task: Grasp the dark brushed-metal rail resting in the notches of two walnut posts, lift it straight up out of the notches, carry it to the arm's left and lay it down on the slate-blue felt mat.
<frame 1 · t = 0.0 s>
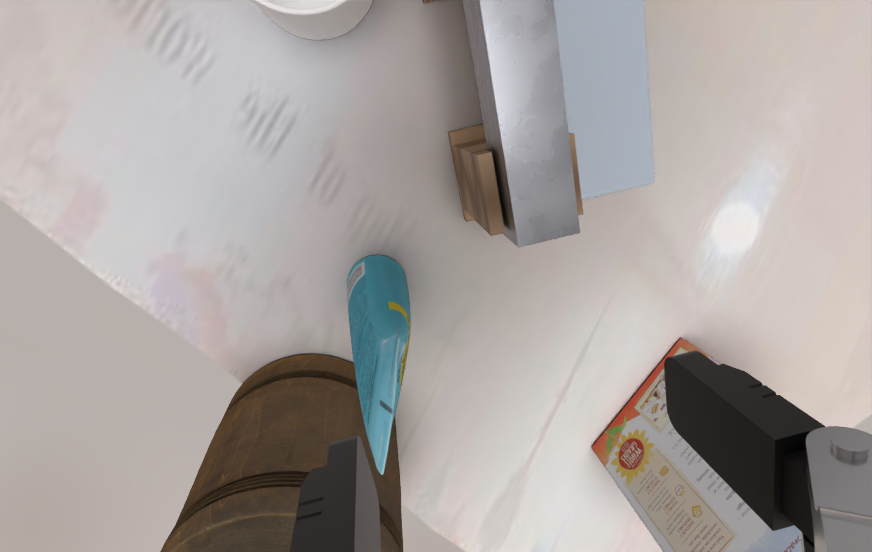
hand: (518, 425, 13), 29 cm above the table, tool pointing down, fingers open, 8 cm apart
tube: (378, 280, 42), on the table
wooden container: (312, 426, 46), on the table
rail: (502, 48, 30), point 8 cm above the table, touching post a, post b
mat: (591, 51, 39), on the table
cracker box: (653, 404, 50), on the table
post b: (492, 168, 40), on the table
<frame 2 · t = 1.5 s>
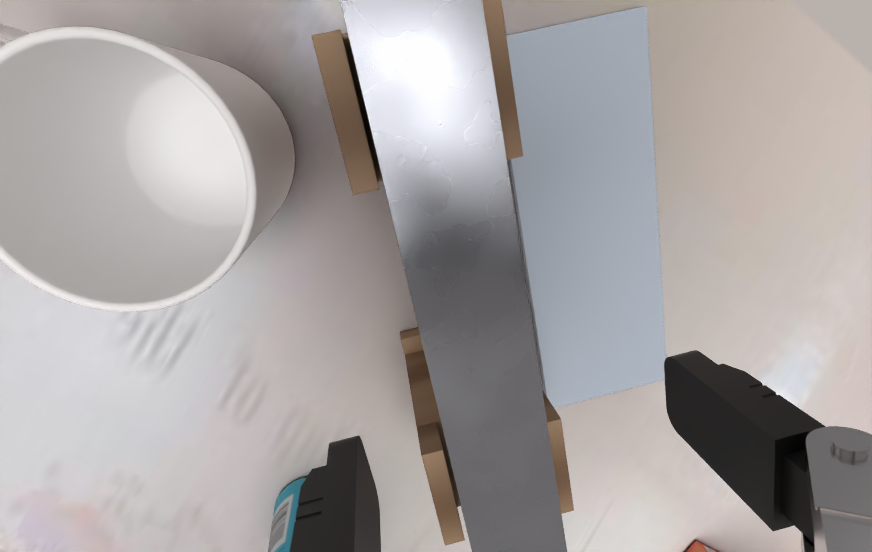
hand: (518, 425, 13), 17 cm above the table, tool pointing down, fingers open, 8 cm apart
mug: (181, 128, 25), on the table
tube: (316, 501, 33), on the table
post a: (402, 102, 26), on the table
rail: (458, 299, 21), point 8 cm above the table, touching post a, post b
mat: (587, 229, 29), on the table
post b: (459, 370, 31), on the table
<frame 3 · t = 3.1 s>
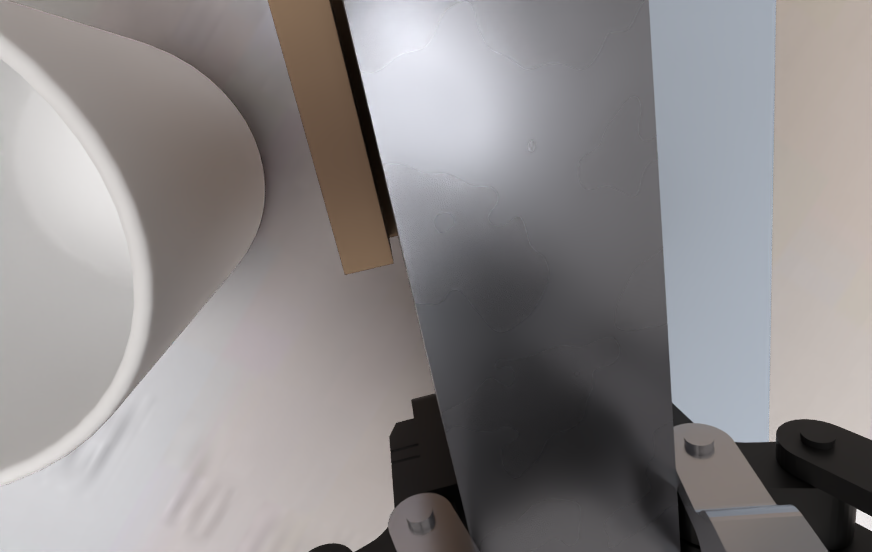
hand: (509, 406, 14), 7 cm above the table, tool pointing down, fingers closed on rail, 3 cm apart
mug: (99, 142, 17), on the table
post a: (420, 104, 18), on the table
rail: (518, 422, 13), point 8 cm above the table, touching gripper, post a, post b
mat: (672, 279, 21), on the table
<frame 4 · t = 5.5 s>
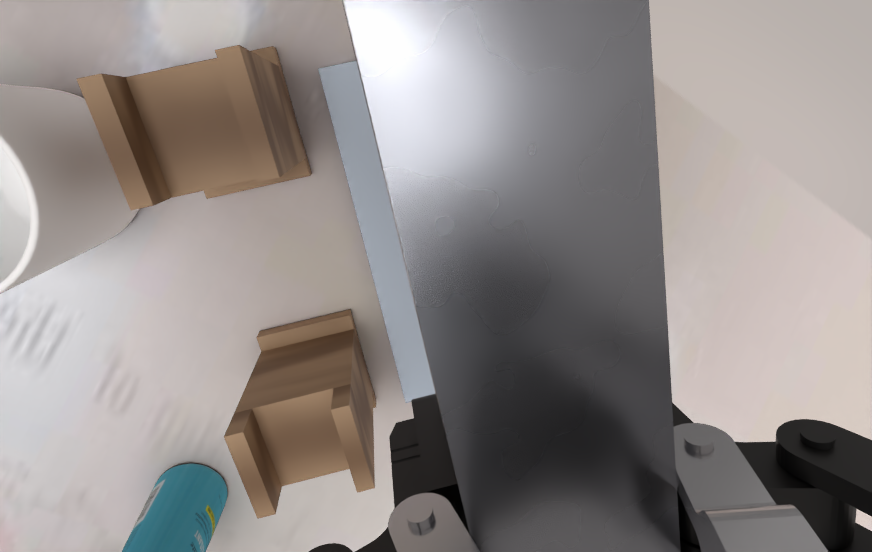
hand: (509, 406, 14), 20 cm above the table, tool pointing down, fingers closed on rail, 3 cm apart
mug: (42, 148, 28), on the table
tube: (195, 487, 36), on the table
post a: (242, 124, 29), on the table
rail: (518, 423, 13), point 21 cm above the table, touching gripper
mat: (428, 237, 32), on the table
post b: (320, 366, 34), on the table
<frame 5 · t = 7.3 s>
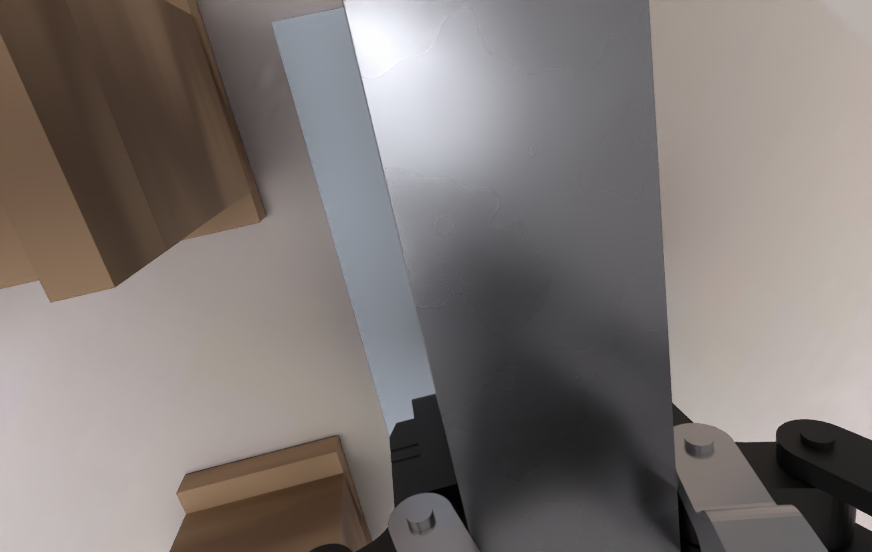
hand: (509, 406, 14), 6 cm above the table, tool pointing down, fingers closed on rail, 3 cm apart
post a: (134, 128, 16), on the table
rail: (518, 424, 13), point 7 cm above the table, touching gripper
mat: (468, 319, 19), on the table
post b: (288, 523, 21), on the table
when the fingers open (2 cm above the table, at t = 8.4 s): rail drops 2 cm, resting on mat.
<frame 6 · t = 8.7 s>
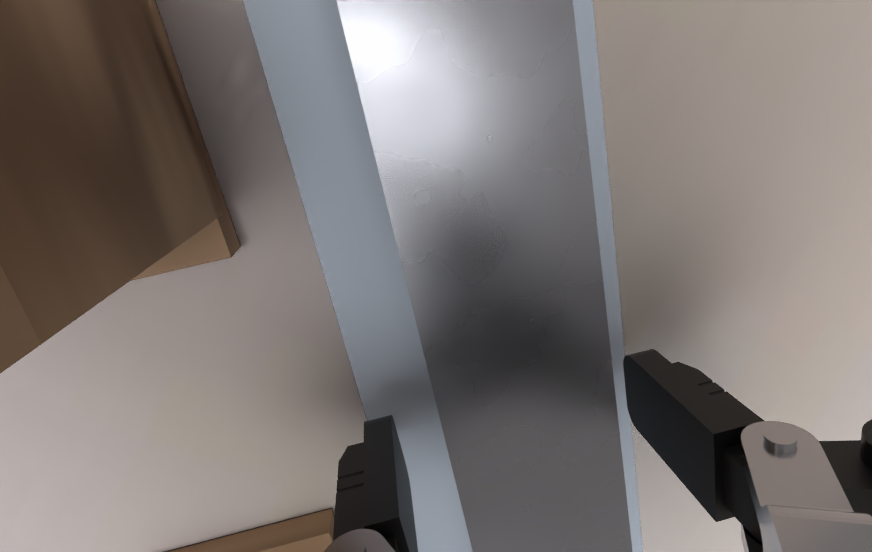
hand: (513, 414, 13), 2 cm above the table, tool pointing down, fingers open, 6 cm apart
post a: (68, 138, 12), on the table
rail: (496, 379, 15), point 1 cm above the table, touching mat
mat: (492, 370, 16), on the table
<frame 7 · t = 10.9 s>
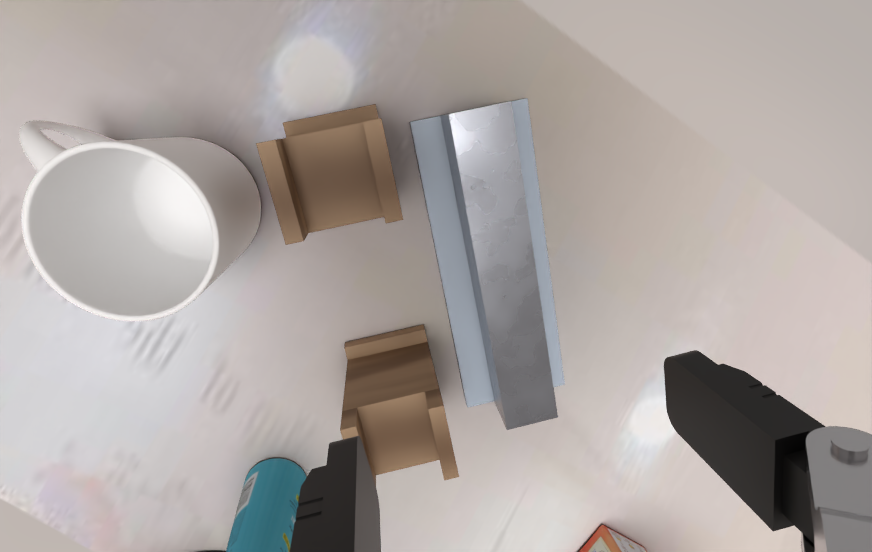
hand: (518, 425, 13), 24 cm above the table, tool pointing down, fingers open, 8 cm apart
mug: (176, 185, 34), on the table
tube: (279, 480, 41), on the table
post a: (343, 167, 34), on the table
rail: (494, 265, 37), point 1 cm above the table, touching mat
mat: (493, 263, 37), on the table
post b: (394, 374, 39), on the table
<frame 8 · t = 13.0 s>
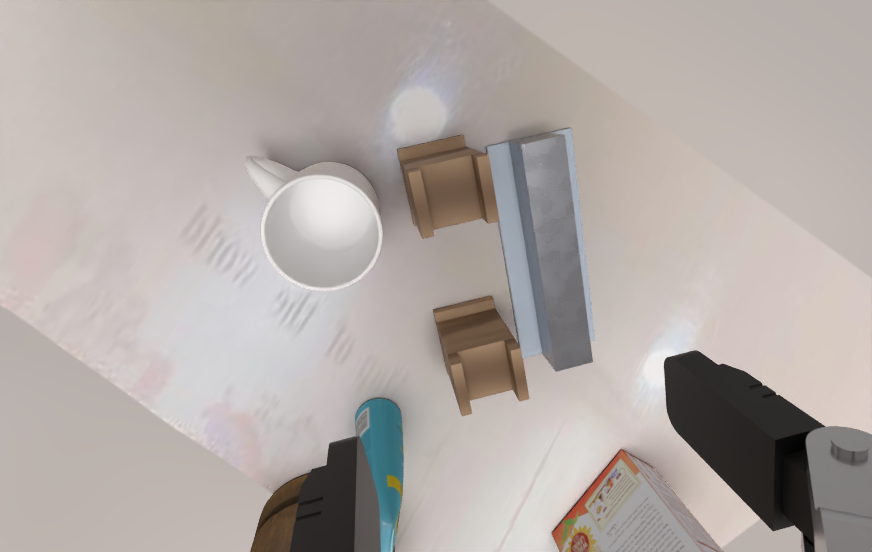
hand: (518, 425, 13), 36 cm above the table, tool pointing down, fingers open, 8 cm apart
mug: (317, 195, 46), on the table
tube: (379, 415, 54), on the table
wooden container: (327, 523, 57), on the table
post a: (437, 180, 47), on the table
rail: (545, 250, 50), point 1 cm above the table, touching mat
mat: (543, 249, 50), on the table
cracker box: (602, 498, 61), on the table
post b: (468, 333, 52), on the table
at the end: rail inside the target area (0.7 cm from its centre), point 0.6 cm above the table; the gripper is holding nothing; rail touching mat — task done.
